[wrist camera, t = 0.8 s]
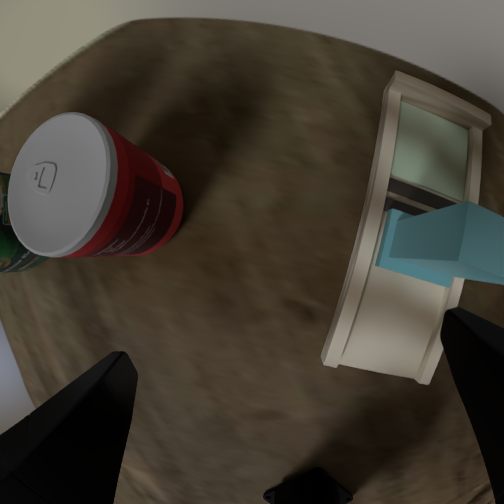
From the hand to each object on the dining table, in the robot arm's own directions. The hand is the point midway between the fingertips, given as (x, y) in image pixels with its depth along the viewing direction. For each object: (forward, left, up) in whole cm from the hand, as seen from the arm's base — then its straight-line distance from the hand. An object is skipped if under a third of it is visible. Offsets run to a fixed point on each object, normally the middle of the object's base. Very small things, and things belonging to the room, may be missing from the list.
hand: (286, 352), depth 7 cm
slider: (-4, -9, -13) cm, 16 cm away
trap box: (-3, -10, -15) cm, 18 cm away
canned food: (+12, +5, -15) cm, 20 cm away
